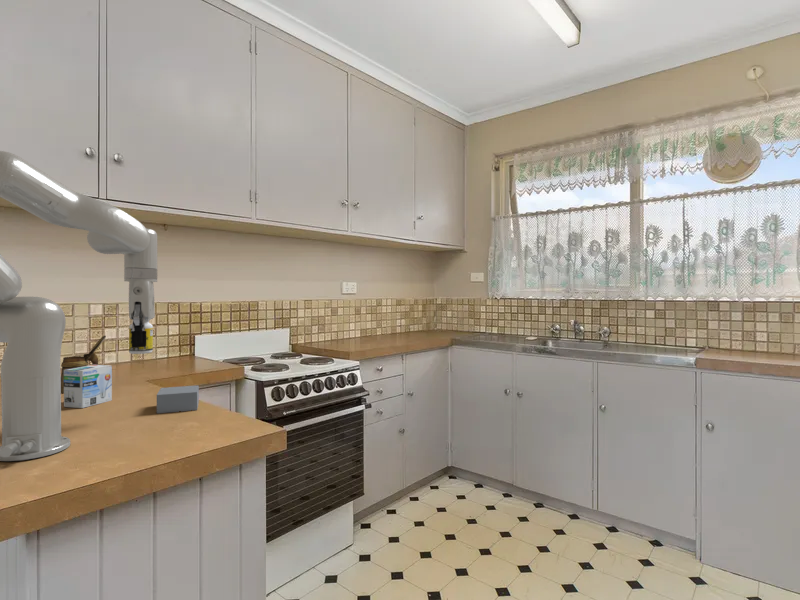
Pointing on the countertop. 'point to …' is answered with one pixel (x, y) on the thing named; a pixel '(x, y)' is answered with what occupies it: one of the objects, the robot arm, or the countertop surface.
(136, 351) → the supplement bottle
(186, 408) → the riser base
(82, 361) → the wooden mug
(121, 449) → the countertop surface
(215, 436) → the countertop surface
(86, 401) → the light bulb box
